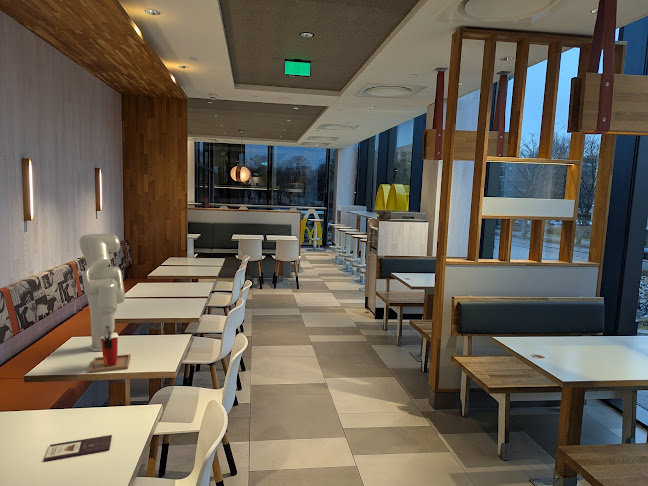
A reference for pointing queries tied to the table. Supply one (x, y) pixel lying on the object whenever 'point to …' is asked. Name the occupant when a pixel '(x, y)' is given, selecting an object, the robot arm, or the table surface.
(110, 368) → the tray
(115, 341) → the paper cup
